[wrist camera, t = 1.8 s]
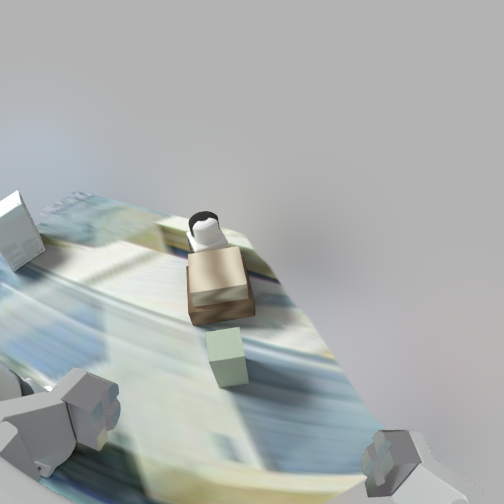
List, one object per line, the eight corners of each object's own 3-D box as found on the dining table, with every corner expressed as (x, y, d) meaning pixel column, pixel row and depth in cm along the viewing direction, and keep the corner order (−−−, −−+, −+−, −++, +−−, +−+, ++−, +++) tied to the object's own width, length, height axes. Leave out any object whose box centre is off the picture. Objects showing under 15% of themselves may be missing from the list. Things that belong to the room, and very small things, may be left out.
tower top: (194, 307, 55) (189, 293, 52) (191, 268, 62) (188, 254, 59) (248, 298, 55) (247, 284, 53) (240, 260, 63) (238, 246, 60)
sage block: (219, 387, 47) (209, 361, 40) (215, 362, 50) (205, 332, 44) (249, 383, 47) (244, 356, 41) (244, 357, 51) (239, 326, 44)
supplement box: (39, 232, 83) (18, 188, 71) (46, 250, 76) (21, 202, 64) (9, 252, 76) (-14, 210, 65) (13, 273, 69) (-15, 227, 57)
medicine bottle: (191, 255, 71) (181, 213, 62) (220, 246, 73) (213, 203, 64) (200, 275, 66) (190, 233, 58) (231, 265, 68) (225, 221, 60)
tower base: (193, 326, 57) (188, 313, 54) (190, 281, 65) (186, 266, 62) (255, 316, 58) (254, 302, 55) (245, 272, 67) (243, 257, 63)
